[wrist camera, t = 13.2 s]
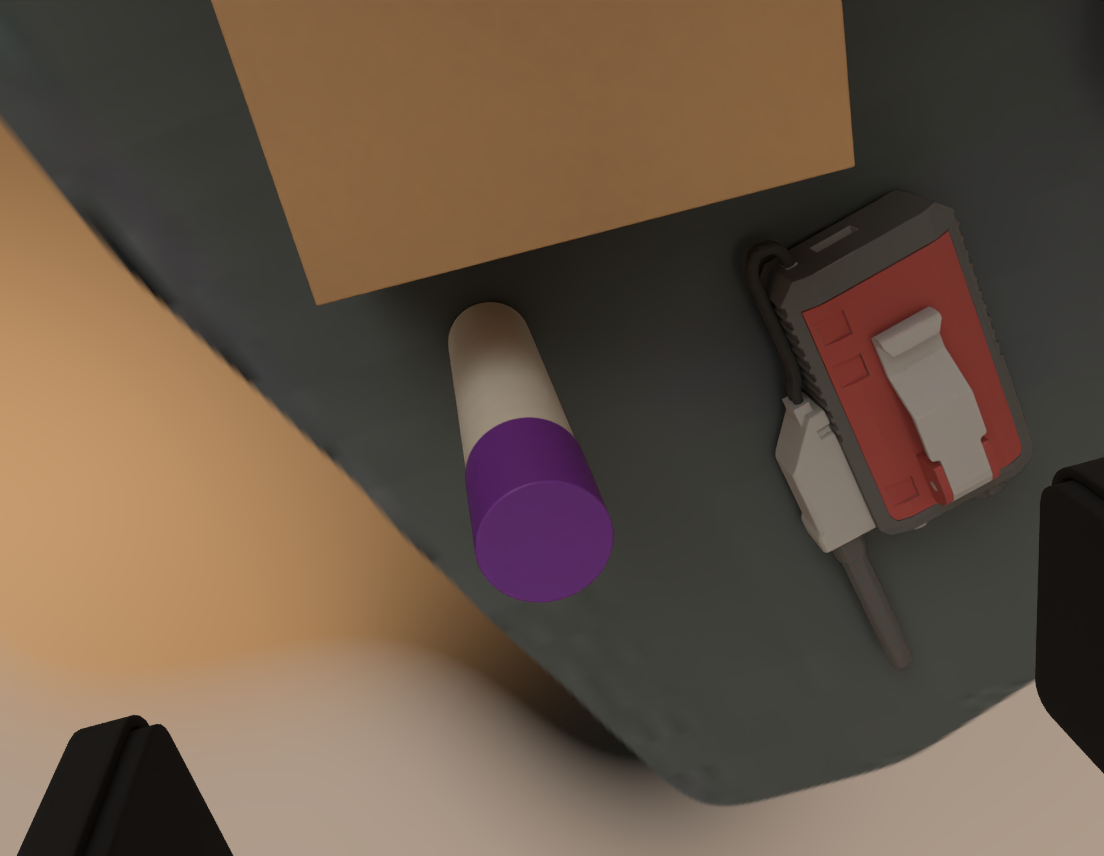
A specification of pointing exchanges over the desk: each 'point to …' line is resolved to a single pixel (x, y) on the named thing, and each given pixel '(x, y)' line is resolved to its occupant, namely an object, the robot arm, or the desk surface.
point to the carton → (525, 119)
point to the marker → (523, 464)
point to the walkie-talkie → (886, 383)
